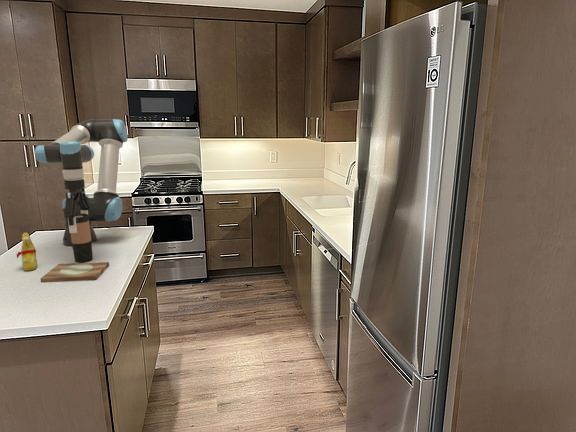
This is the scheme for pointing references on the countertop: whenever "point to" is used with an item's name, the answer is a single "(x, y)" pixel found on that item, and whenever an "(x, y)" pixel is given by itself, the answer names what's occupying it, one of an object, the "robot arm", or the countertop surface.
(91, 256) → the travel mug
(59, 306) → the countertop surface
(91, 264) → the walnut board
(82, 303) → the countertop surface
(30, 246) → the chocolate bunny
